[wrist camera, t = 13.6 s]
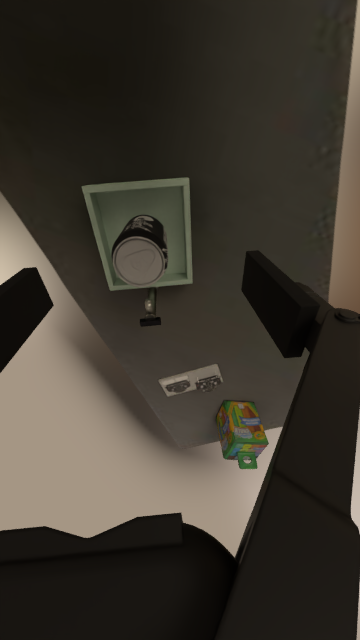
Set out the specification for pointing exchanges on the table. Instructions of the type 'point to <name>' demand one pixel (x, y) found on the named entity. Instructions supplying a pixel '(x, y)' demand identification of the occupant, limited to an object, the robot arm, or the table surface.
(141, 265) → the beverage can
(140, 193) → the sink
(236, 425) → the chalk box
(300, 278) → the table surface
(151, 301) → the tap
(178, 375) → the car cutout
